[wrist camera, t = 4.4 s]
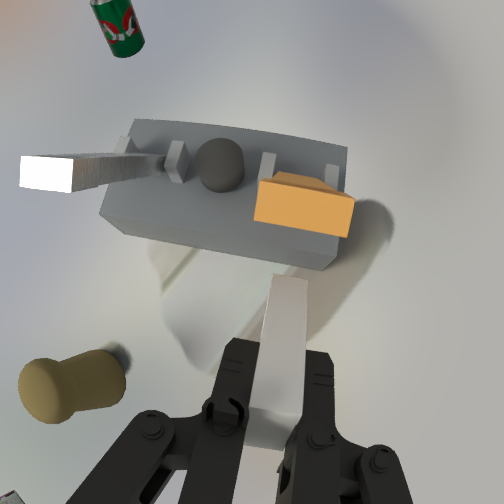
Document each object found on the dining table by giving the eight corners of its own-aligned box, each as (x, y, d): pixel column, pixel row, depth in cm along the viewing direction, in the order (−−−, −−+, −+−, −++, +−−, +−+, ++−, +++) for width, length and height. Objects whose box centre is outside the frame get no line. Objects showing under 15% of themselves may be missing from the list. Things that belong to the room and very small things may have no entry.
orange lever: (316, 196, 26) (346, 237, 12) (272, 188, 26) (253, 220, 12) (319, 178, 25) (355, 199, 12) (275, 169, 26) (259, 180, 12)
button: (239, 196, 25) (237, 182, 23) (195, 189, 25) (189, 175, 23) (248, 156, 26) (247, 141, 24) (206, 151, 26) (201, 135, 24)
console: (322, 270, 30) (346, 247, 22) (124, 233, 32) (84, 202, 23) (333, 177, 33) (355, 129, 24) (151, 149, 34) (125, 101, 25)
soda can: (141, 34, 39) (121, -24, 28) (149, 50, 38) (127, -13, 26) (111, 48, 39) (86, -9, 27) (116, 64, 38) (88, 4, 26)
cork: (71, 394, 28) (4, 411, 17) (80, 341, 29) (12, 340, 18) (120, 415, 27) (63, 447, 17) (131, 360, 29) (72, 371, 18)
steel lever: (174, 173, 26) (70, 192, 13) (137, 169, 27) (20, 186, 13) (176, 156, 26) (72, 159, 12) (139, 152, 26) (21, 156, 13)
